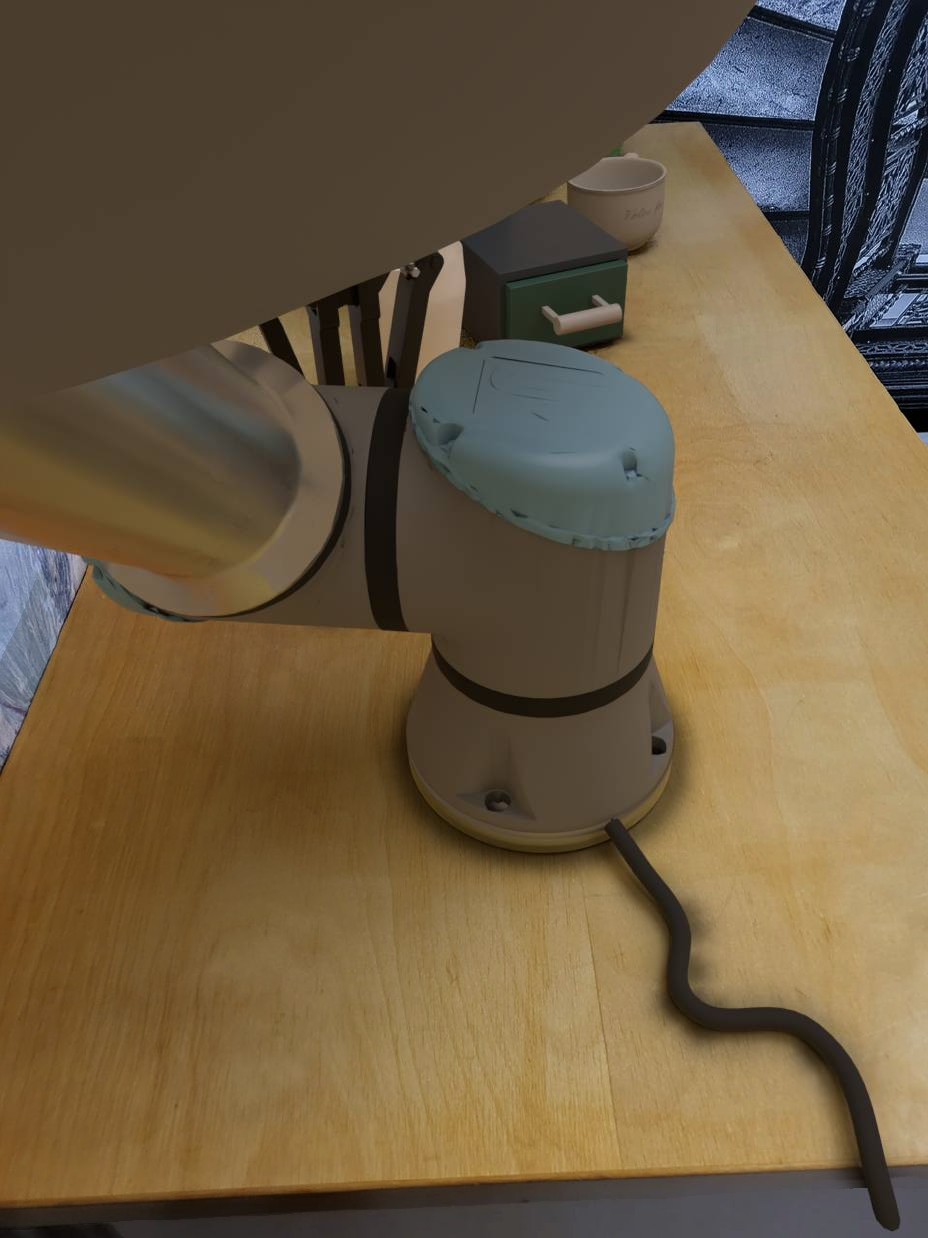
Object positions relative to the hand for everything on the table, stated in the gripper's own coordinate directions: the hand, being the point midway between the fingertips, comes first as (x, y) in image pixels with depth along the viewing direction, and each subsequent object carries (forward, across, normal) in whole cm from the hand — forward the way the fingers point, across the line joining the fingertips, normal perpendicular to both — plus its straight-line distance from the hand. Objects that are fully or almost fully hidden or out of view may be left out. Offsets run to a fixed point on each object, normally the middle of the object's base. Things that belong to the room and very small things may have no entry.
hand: (365, 496), depth 70 cm
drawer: (+4, -26, -24) cm, 35 cm away
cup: (+5, -12, -22) cm, 25 cm away
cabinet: (+5, -26, -28) cm, 38 cm away
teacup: (+5, -44, -43) cm, 62 cm away
